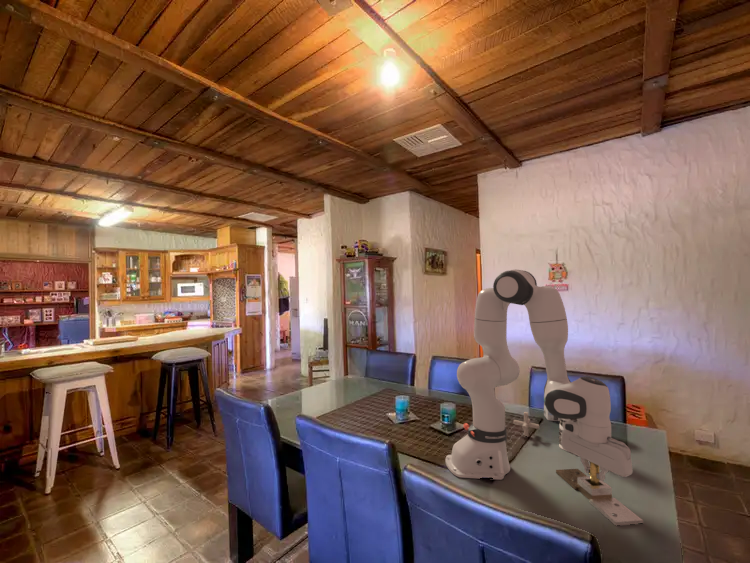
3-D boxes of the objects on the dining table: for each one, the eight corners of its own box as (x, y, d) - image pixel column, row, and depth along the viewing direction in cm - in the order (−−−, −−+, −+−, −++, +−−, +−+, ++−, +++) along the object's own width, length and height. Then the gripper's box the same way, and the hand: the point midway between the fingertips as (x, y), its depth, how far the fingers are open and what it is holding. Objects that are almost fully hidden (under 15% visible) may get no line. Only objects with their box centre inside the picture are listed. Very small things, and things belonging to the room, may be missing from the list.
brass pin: (596, 494, 105) (595, 464, 105) (588, 489, 107) (588, 460, 107) (601, 492, 106) (600, 462, 106) (593, 488, 108) (593, 459, 108)
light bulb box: (547, 420, 165) (547, 398, 165) (543, 415, 172) (543, 393, 172) (571, 422, 163) (571, 399, 163) (566, 416, 170) (566, 394, 170)
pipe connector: (540, 434, 150) (540, 411, 150) (537, 443, 142) (537, 418, 142) (516, 429, 155) (515, 406, 155) (511, 437, 147) (511, 413, 147)
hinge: (643, 523, 94) (642, 509, 94) (615, 525, 93) (615, 510, 93) (577, 471, 120) (577, 460, 120) (555, 472, 119) (555, 461, 119)
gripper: (637, 443, 98) (637, 492, 98) (570, 418, 117) (571, 459, 117) (623, 447, 96) (624, 497, 96) (557, 421, 115) (558, 463, 114)
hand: (594, 476), depth 106 cm, fingers closed on brass pin, 2 cm apart
